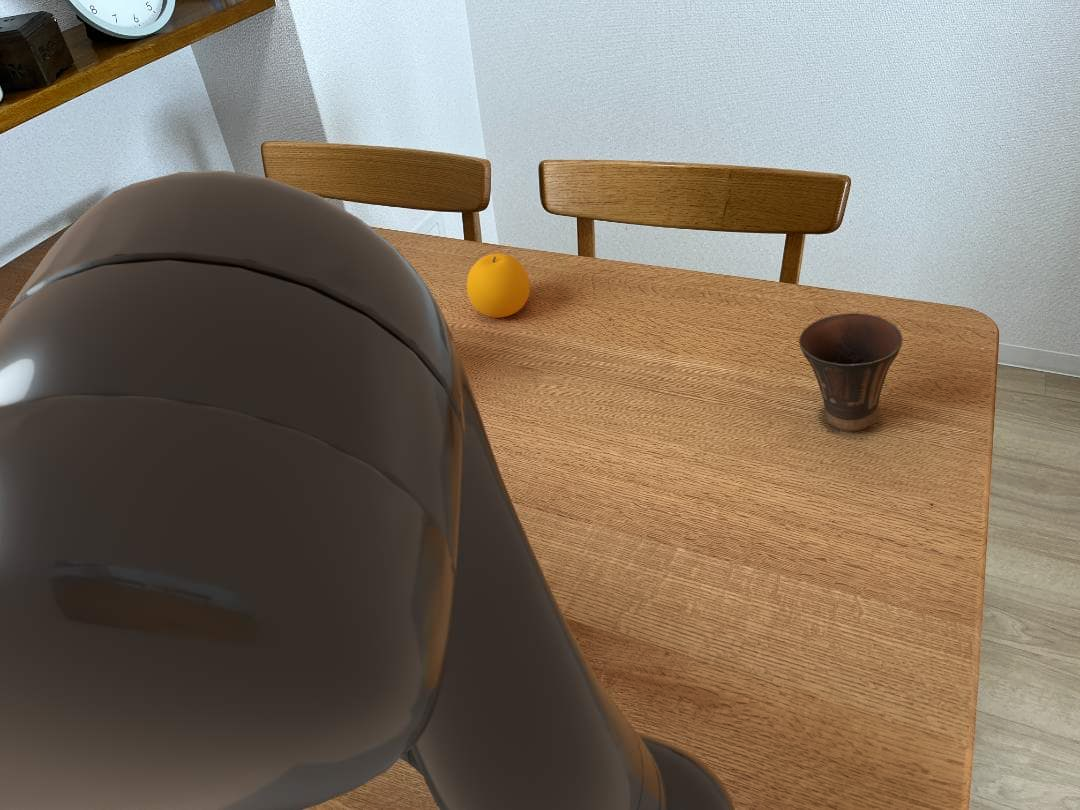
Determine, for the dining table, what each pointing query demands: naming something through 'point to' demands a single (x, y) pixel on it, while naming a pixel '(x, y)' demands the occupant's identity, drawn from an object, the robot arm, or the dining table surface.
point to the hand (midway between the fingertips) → (243, 542)
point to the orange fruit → (498, 285)
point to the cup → (851, 365)
